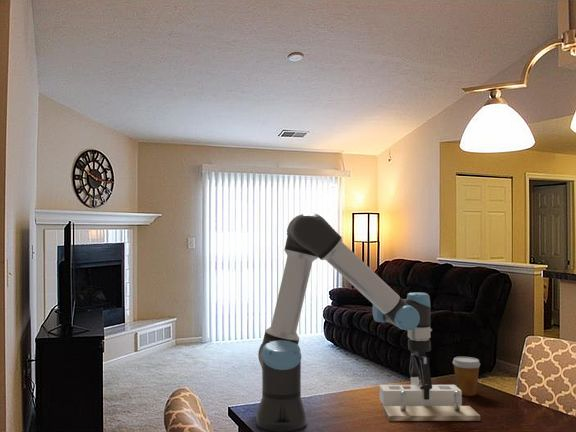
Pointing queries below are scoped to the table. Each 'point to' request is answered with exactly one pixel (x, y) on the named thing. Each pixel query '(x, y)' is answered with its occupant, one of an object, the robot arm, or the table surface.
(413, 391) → the power strip
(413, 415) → the hanger board
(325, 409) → the table surface
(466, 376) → the disposable coffee cup
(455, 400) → the chrome knobs
